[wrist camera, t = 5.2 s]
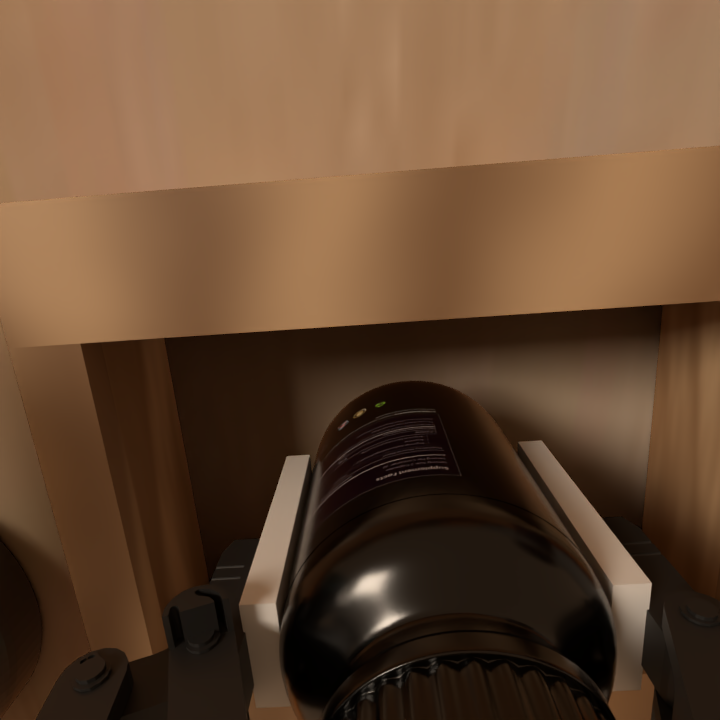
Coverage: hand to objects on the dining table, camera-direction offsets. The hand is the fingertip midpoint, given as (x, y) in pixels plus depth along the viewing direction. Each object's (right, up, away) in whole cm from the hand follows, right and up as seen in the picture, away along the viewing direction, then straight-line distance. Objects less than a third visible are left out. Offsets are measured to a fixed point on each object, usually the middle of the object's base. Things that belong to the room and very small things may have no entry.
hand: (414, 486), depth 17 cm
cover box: (0, +1, +5) cm, 5 cm away
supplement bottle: (0, +1, +2) cm, 2 cm away
